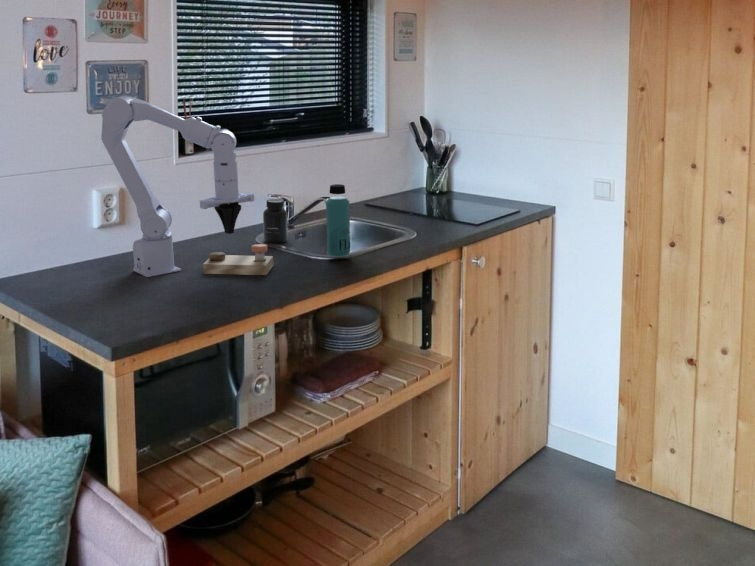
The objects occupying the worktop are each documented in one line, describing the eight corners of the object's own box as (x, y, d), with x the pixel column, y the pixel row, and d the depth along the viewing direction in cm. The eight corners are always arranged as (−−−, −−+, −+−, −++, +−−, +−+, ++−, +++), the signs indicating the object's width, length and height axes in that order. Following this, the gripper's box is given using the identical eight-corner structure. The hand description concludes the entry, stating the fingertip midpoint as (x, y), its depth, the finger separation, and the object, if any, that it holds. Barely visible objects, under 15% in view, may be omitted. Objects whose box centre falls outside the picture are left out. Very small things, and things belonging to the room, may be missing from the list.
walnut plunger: (215, 270, 216) (214, 256, 215) (207, 267, 219) (206, 253, 218) (228, 267, 219) (228, 254, 218) (220, 264, 222) (219, 251, 221)
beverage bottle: (338, 263, 225) (338, 188, 219) (321, 258, 229) (319, 184, 223) (355, 258, 229) (355, 184, 223) (338, 254, 234) (337, 181, 228)
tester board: (203, 273, 215) (203, 264, 214) (213, 264, 224) (212, 254, 223) (266, 275, 214) (265, 265, 213) (273, 265, 222) (273, 256, 222)
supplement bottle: (268, 245, 243) (267, 203, 240) (260, 239, 249) (258, 199, 245) (291, 242, 246) (290, 201, 243) (282, 237, 252) (281, 197, 248)
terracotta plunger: (257, 262, 215) (256, 248, 214) (249, 259, 218) (248, 245, 217) (270, 260, 217) (270, 246, 216) (262, 256, 220) (261, 243, 219)
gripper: (208, 185, 205) (212, 240, 209) (259, 178, 214) (262, 231, 218) (194, 181, 210) (197, 235, 214) (244, 174, 219) (247, 226, 223)
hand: (229, 232), depth 216 cm, fingers closed
